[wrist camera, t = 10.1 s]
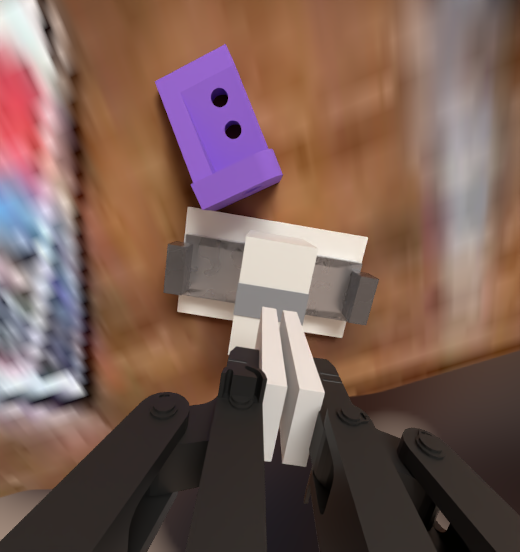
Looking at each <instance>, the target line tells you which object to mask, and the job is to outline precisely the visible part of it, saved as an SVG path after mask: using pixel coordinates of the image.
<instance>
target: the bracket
mask: <svg viewBox="0 0 520 552" xmlns="http://www.w3.org/2000/svg"><path fill="white" fill-rule="evenodd" d="M155 83H156V86H157V88H158V91H159V94H160V96H161V99H162V102H163V104H164V107H165V110H166V112H167V115H168V118H169V120H170V123H171V126H172V128H173V131H174V133H175V136H176V139H177V141H178V144H179V147H180V149H181V152H182V155H183V157H184V160H185V163H186V165H187V168H188V171H189V173H190V176H191V179H192V181H193V183H192V184H190V185H191V187H192V189H193V191H194V193H195V195H196V197H197V199H198V202H199V204H200V206H201V208H202V210H212V211H217V210H220V209H222V208H224V207H226V206H228V205H230V204H233V203H235V202H237V201H239V200H241V199H244V198H246V197H248V196H250V195H252V194H254V193H257V192H259V191H261V190H263V189H265V188H267V187H270V186H272V185H274V184H276V183H278V182H280V180H281V178H282V176H283V174H282V172H281V169H280V167H279V164H278V162H277V159H276V157H275V154H274V152H273V149H268V147H267V144H266V142H265V139H264V137H263V134H262V132H261V129H260V127H259V124H258V122H257V119H256V116H255V114H254V111H253V109H252V106H251V104H250V101H249V99H248V96H247V94H246V91H245V89H244V86H243V84H242V81H241V79H240V76H239V74H238V71H237V69H236V66H235V64H234V62H233V60H232V57H231V55H230V53H229V51H228V49H227V46H226V44H225V45H223V46H221V47H219V48H217V49H215V50H213V51H212V52H210V53H208V54H206V55H204V56H202V57H200V58H198V59H197V60H195V61H193V62H191V63H189V64H187V65H185V66H183V67H181V68H180V69H178V70H176V71H174V72H172V73H170V74H168V75H166V76H164V77H163V78H161V79H159V80H157V81H155ZM219 95H227V96H228V102H227V104H226V105H225V106H223V107H216V106H215V105H214V104H213V101H214V99H215V98H216V97H217V96H219ZM231 125H239V126H241V134H240V136H239V137H238V138H236V139H230V138H229V137H227V135H226V134H225V132H226V130H227V128H228V127H229V126H231Z"/></svg>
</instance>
